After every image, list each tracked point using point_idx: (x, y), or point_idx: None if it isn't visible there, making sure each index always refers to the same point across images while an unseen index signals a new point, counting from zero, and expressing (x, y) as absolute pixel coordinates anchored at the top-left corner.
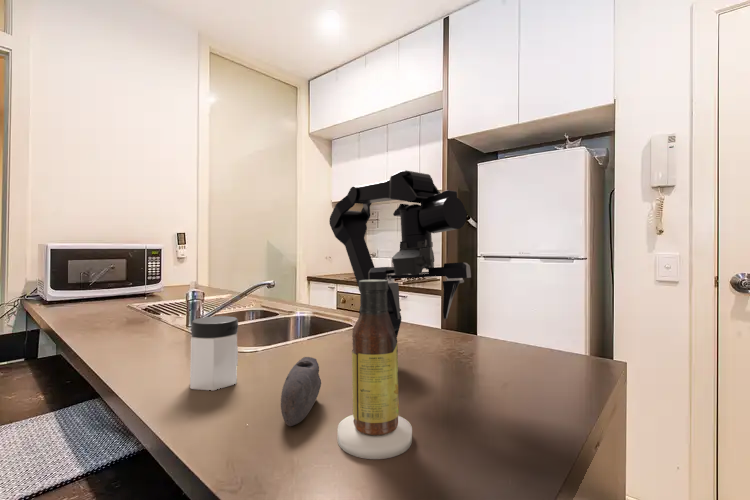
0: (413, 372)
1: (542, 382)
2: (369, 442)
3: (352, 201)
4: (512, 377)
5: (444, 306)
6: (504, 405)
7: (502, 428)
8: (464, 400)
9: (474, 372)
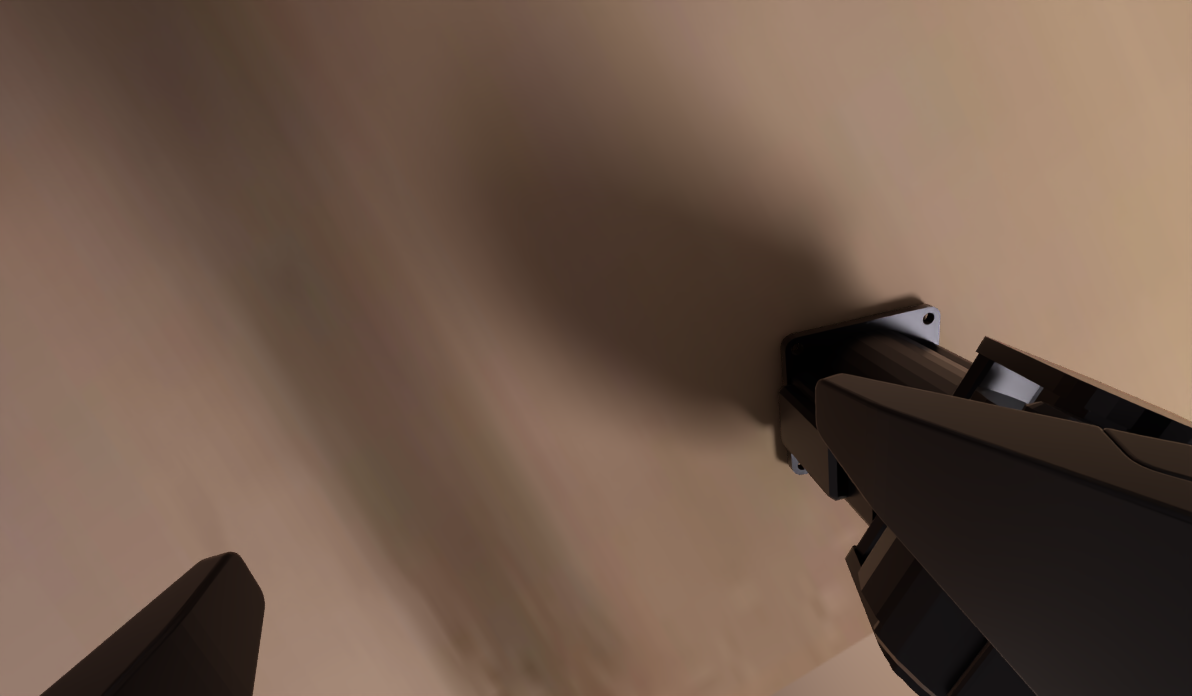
0: (653, 428)
1: None
2: None
3: None
4: None
5: (92, 690)
6: (59, 301)
7: None
8: (249, 241)
9: (411, 593)
